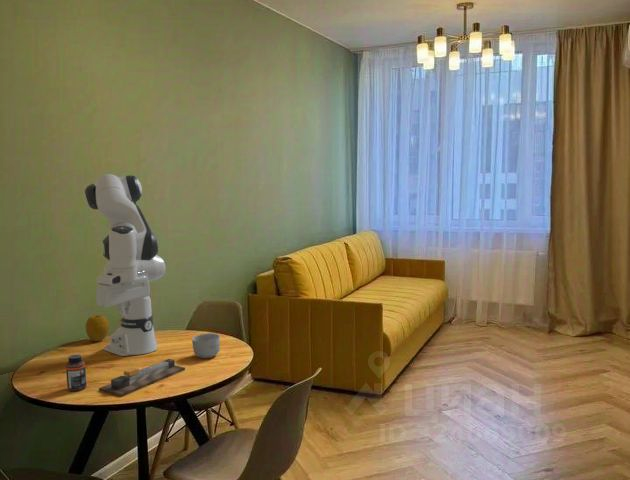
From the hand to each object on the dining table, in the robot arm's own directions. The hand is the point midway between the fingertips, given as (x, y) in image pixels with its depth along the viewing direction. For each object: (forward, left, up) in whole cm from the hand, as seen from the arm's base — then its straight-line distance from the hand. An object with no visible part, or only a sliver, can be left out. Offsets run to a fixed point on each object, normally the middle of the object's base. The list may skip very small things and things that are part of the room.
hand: (125, 314), depth 187 cm
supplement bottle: (-12, -12, -24) cm, 29 cm away
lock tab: (+2, -1, -20) cm, 20 cm away
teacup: (+3, +37, -24) cm, 45 cm away
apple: (-55, +31, -24) cm, 67 cm away
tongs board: (+2, +5, -24) cm, 25 cm away
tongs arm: (+2, +8, -22) cm, 23 cm away
